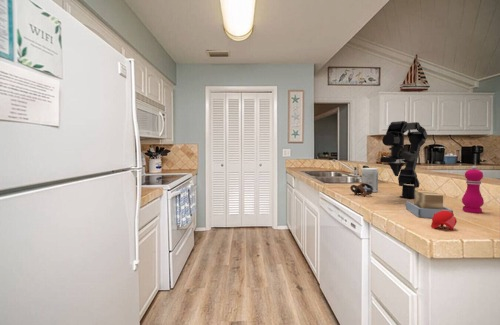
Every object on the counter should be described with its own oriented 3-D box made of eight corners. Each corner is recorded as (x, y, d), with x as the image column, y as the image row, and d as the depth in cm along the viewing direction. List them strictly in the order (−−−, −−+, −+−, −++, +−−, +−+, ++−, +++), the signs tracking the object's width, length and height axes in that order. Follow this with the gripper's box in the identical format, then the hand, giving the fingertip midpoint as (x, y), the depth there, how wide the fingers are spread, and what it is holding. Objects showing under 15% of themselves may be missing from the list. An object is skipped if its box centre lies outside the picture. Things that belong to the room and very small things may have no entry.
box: (405, 208, 117) (405, 200, 117) (434, 210, 114) (435, 202, 114) (418, 217, 102) (419, 208, 102) (452, 219, 99) (453, 210, 99)
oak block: (414, 210, 115) (414, 190, 114) (429, 211, 113) (430, 190, 113) (424, 217, 103) (425, 194, 102) (442, 218, 101) (443, 195, 101)
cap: (446, 215, 92) (431, 206, 93) (461, 214, 87) (445, 205, 87) (439, 235, 90) (424, 226, 90) (454, 235, 84) (438, 225, 85)
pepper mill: (474, 209, 115) (476, 165, 114) (487, 213, 108) (490, 166, 107) (457, 209, 116) (459, 165, 114) (469, 213, 108) (471, 166, 107)
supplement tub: (369, 189, 170) (370, 167, 169) (381, 192, 161) (382, 168, 160) (357, 190, 167) (358, 168, 166) (369, 193, 158) (369, 169, 157)
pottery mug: (367, 194, 155) (372, 183, 151) (369, 204, 148) (375, 193, 143) (347, 189, 157) (352, 178, 152) (348, 198, 149) (354, 187, 145)
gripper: (400, 145, 121) (399, 178, 122) (424, 145, 129) (423, 176, 130) (379, 145, 131) (378, 176, 132) (403, 146, 139) (402, 174, 140)
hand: (396, 176), depth 133 cm, fingers closed
